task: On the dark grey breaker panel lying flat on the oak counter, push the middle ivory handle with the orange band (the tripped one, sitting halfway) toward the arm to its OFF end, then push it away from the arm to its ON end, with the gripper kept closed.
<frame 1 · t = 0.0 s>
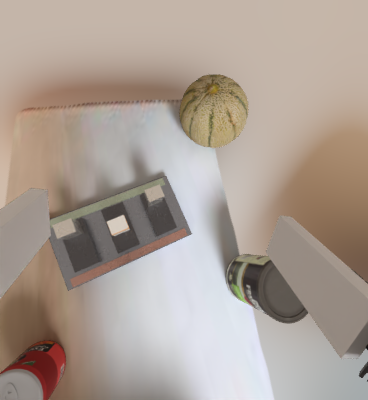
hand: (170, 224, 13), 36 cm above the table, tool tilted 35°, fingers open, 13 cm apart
panel: (122, 228, 47), on the table
tripped handle: (119, 225, 40), point 7 cm above the table, slide at 0.0 cm
cantaloupe: (203, 130, 55), on the table
canned food: (44, 363, 40), on the table
coffee can: (247, 277, 50), on the table
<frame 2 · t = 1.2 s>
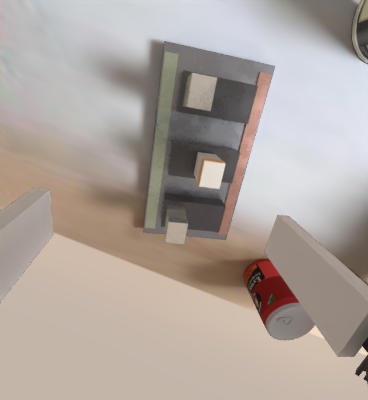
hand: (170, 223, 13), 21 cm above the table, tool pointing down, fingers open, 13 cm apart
panel: (199, 157, 33), on the table
tripped handle: (208, 169, 27), point 7 cm above the table, slide at 0.0 cm
canned food: (261, 273, 44), on the table
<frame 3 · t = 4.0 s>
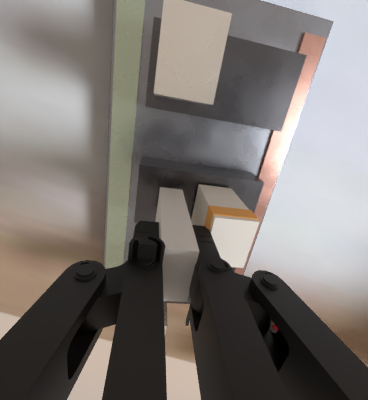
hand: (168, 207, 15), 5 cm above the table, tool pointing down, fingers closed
panel: (191, 183, 20), on the table
tripped handle: (218, 221, 14), point 7 cm above the table, slide at -0.9 cm, touching gripper
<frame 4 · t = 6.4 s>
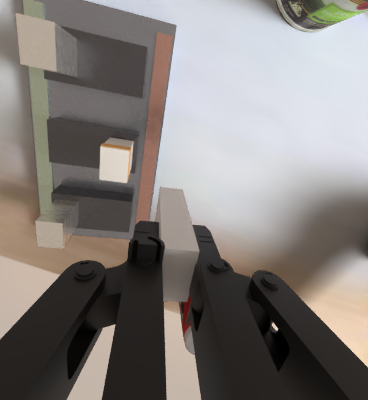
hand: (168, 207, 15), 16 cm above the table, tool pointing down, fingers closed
panel: (101, 141, 27), on the table
tripped handle: (117, 158, 22), point 7 cm above the table, slide at -2.9 cm
canned food: (198, 277, 39), on the table
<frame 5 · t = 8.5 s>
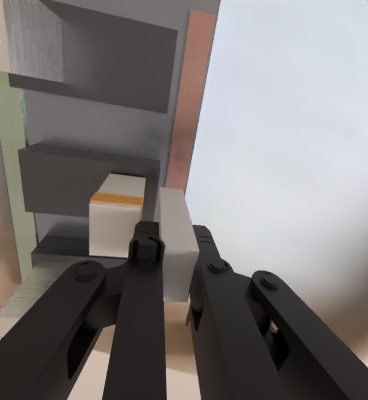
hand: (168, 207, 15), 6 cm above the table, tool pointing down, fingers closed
panel: (104, 173, 19), on the table
tripped handle: (121, 211, 13), point 7 cm above the table, slide at -2.4 cm, touching gripper
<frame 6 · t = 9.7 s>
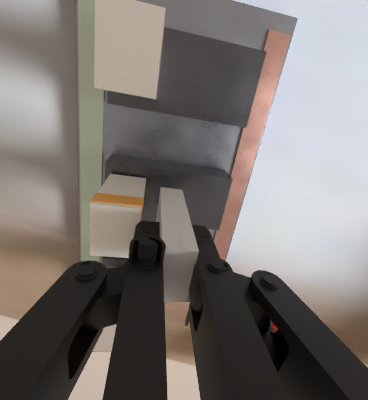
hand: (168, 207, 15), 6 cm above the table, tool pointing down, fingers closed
panel: (165, 181, 20), on the table
tripped handle: (121, 211, 13), point 7 cm above the table, slide at 2.9 cm, touching gripper
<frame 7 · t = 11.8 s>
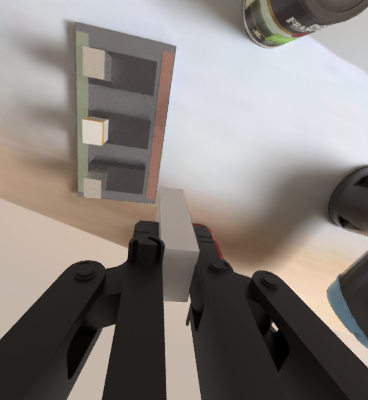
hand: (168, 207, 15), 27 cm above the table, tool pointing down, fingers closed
panel: (122, 127, 38), on the table
tripped handle: (96, 130, 31), point 7 cm above the table, slide at 2.9 cm
coffee can: (274, 8, 34), on the table
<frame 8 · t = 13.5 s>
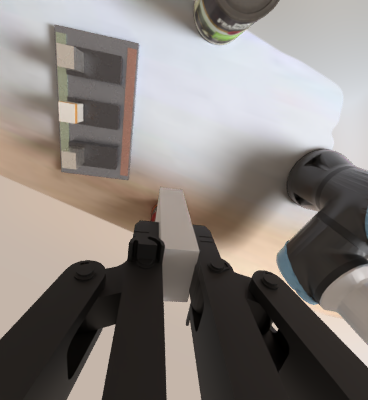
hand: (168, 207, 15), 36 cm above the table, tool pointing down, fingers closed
panel: (98, 113, 45), on the table
tripped handle: (71, 112, 38), point 7 cm above the table, slide at 2.9 cm
coffee can: (221, 11, 41), on the table
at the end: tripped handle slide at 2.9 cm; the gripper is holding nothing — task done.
